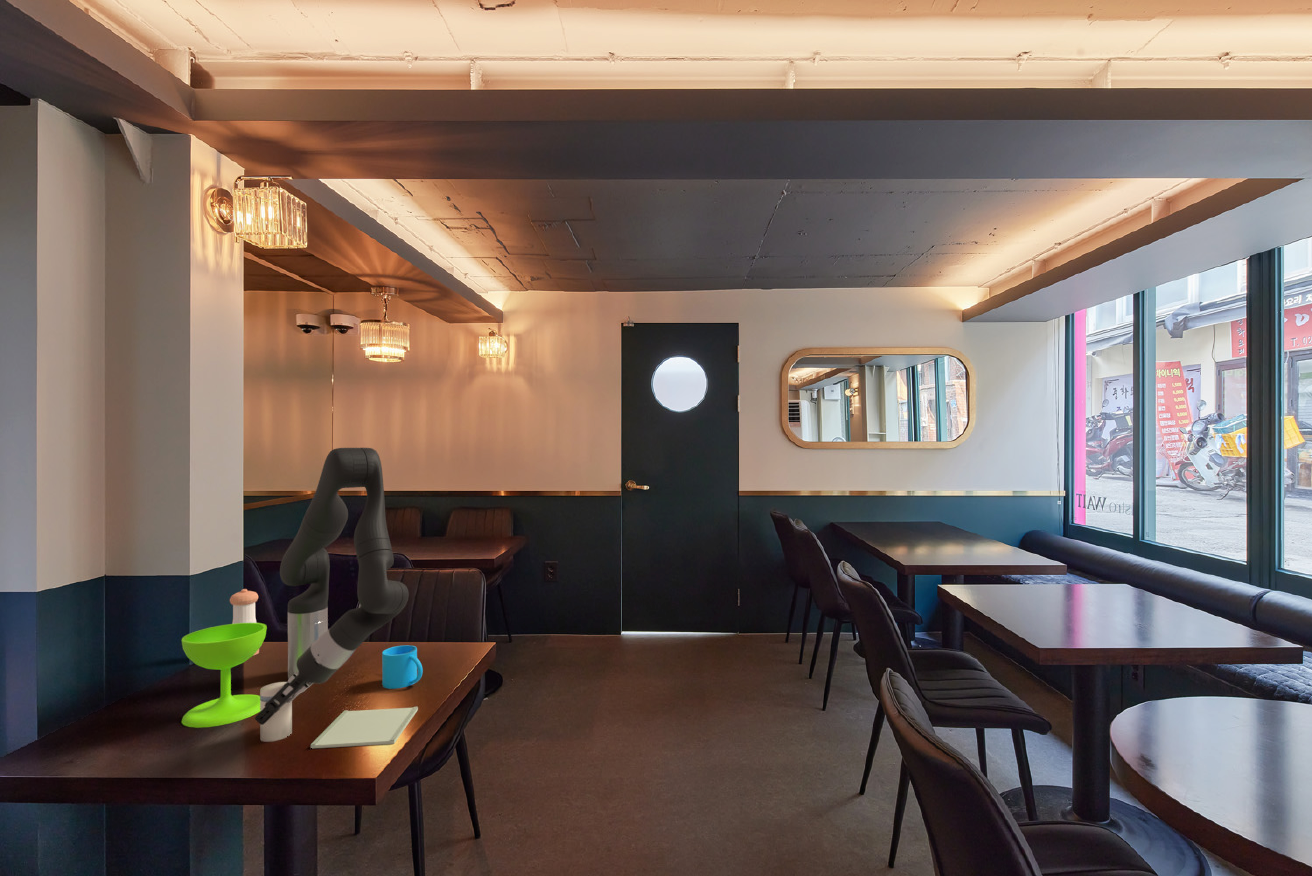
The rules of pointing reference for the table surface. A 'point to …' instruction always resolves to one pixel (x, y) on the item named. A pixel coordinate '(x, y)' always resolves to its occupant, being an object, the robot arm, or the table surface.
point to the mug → (400, 667)
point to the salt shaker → (244, 607)
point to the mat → (365, 728)
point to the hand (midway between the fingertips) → (270, 712)
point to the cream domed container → (275, 716)
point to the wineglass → (223, 670)
